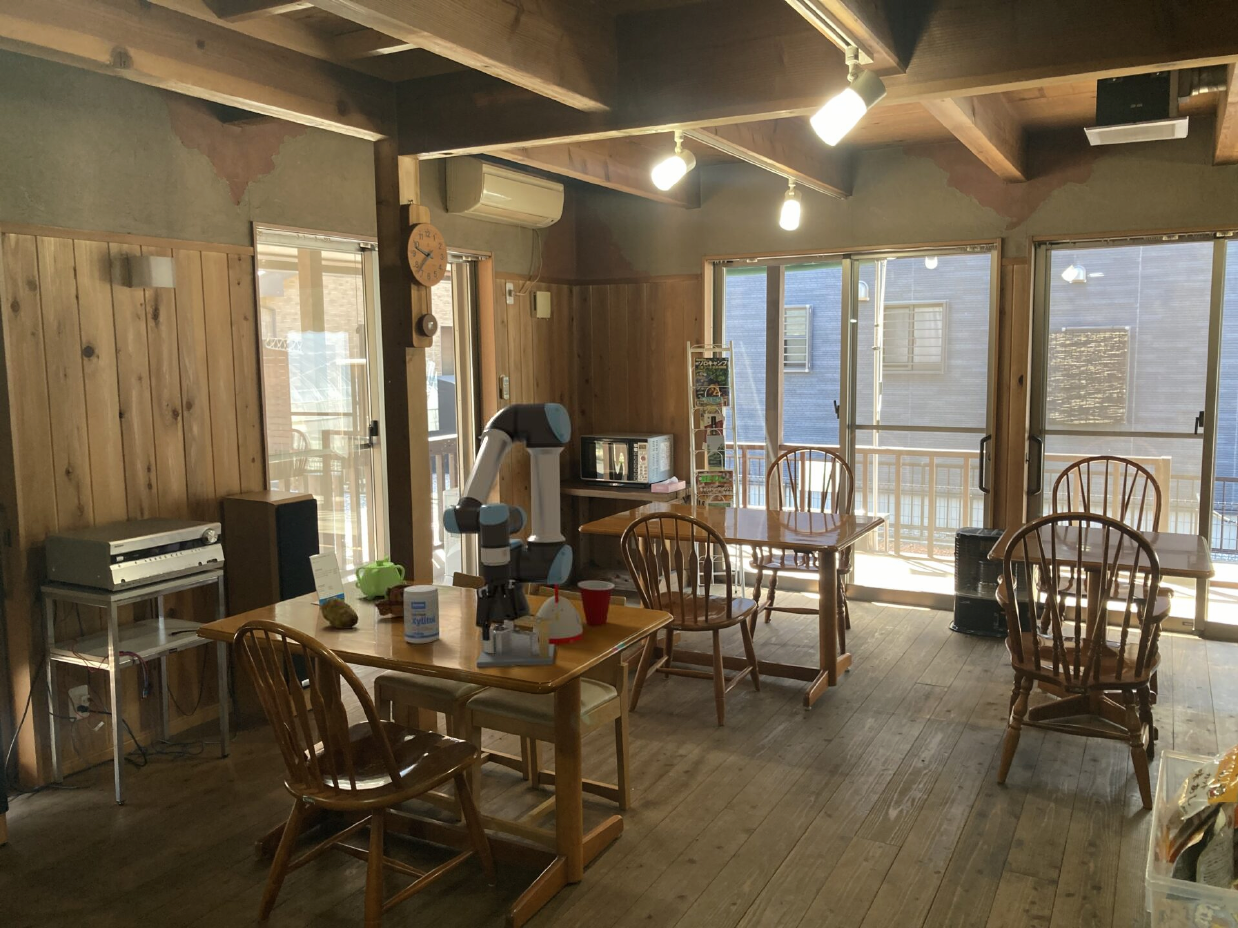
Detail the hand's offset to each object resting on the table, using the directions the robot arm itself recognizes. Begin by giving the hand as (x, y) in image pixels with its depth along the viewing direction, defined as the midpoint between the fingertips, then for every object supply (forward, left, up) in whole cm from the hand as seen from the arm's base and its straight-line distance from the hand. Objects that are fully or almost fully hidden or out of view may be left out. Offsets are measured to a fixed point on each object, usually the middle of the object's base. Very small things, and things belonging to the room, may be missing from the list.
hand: (499, 648), depth 252 cm
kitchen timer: (-15, +15, -2) cm, 21 cm away
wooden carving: (-45, -34, -2) cm, 56 cm away
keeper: (+6, +10, 0) cm, 12 cm away
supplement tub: (-17, -23, -2) cm, 29 cm away
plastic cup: (-29, +26, -2) cm, 39 cm away
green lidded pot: (-75, -47, -2) cm, 88 cm away
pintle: (-1, 0, 0) cm, 1 cm away
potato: (-35, -51, -2) cm, 62 cm away
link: (+2, +4, 0) cm, 4 cm away
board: (+4, +5, -2) cm, 6 cm away
